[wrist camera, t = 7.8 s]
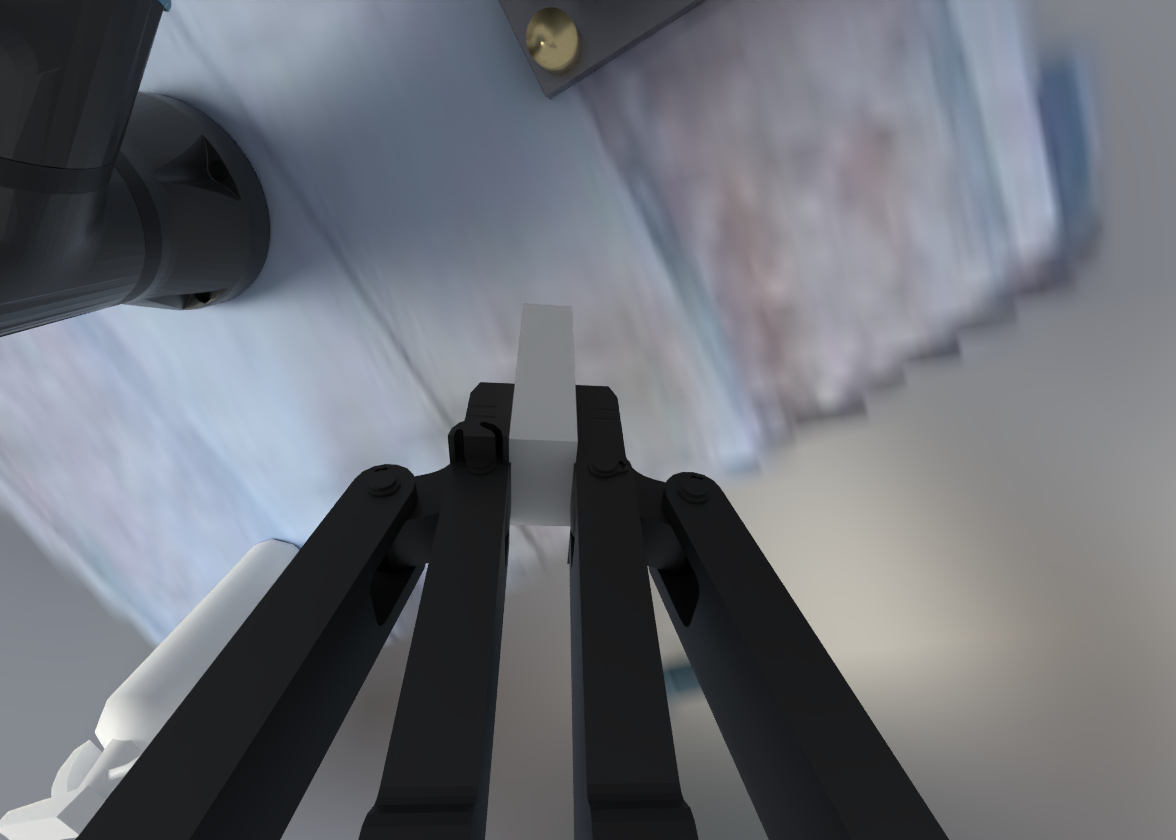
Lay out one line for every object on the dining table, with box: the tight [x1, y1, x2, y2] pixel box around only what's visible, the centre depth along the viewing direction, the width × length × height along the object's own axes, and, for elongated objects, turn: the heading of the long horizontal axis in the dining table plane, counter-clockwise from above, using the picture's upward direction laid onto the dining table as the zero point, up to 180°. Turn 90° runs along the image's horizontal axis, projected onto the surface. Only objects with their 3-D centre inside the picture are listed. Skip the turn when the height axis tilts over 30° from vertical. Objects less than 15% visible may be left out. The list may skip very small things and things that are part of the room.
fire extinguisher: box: [0, 539, 299, 840], centre depth 46 cm, size 7×12×25 cm, turn 114°
